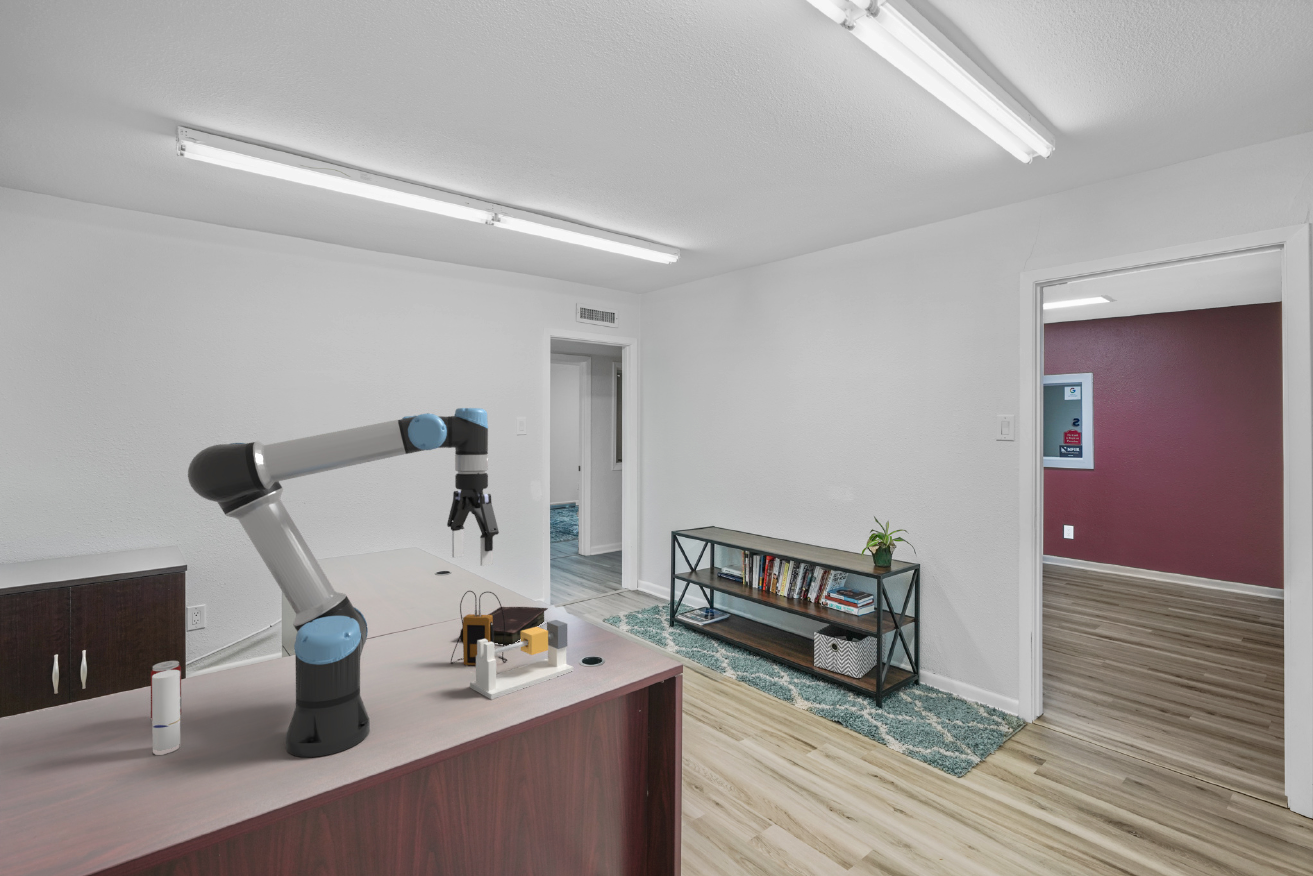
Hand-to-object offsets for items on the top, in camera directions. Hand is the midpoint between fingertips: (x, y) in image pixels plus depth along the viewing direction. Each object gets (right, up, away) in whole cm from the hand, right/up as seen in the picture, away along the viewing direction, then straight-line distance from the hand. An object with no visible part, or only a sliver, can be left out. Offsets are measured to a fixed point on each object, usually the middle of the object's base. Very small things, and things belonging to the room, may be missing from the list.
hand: (471, 560), depth 149 cm
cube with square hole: (+13, -25, +10) cm, 30 cm away
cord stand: (+11, -32, +8) cm, 34 cm away
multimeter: (-4, -32, +22) cm, 39 cm away
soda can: (-63, -32, -14) cm, 72 cm away
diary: (-3, -32, +46) cm, 57 cm away
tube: (-52, -32, -27) cm, 67 cm away
